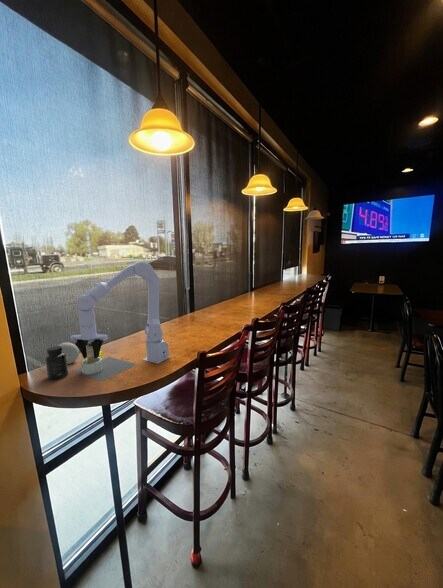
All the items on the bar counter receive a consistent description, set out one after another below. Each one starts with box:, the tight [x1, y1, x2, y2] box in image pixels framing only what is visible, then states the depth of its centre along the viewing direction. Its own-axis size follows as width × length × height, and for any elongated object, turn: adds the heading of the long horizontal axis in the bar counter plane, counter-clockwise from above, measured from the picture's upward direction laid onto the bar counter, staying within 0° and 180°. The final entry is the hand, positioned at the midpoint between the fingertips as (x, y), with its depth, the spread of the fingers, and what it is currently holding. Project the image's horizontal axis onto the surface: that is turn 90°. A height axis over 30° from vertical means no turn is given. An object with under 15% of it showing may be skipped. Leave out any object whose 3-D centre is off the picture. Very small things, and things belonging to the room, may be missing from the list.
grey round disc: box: [57, 341, 80, 365], centre depth 109 cm, size 10×4×10 cm, turn 106°
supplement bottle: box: [44, 345, 69, 381], centre depth 97 cm, size 7×7×12 cm
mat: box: [71, 356, 138, 382], centre depth 104 cm, size 19×17×1 cm
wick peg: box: [86, 343, 96, 364], centre depth 101 cm, size 3×3×9 cm
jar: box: [80, 356, 103, 375], centre depth 101 cm, size 8×8×4 cm
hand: (91, 357), depth 101 cm, fingers closed on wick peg, 4 cm apart
